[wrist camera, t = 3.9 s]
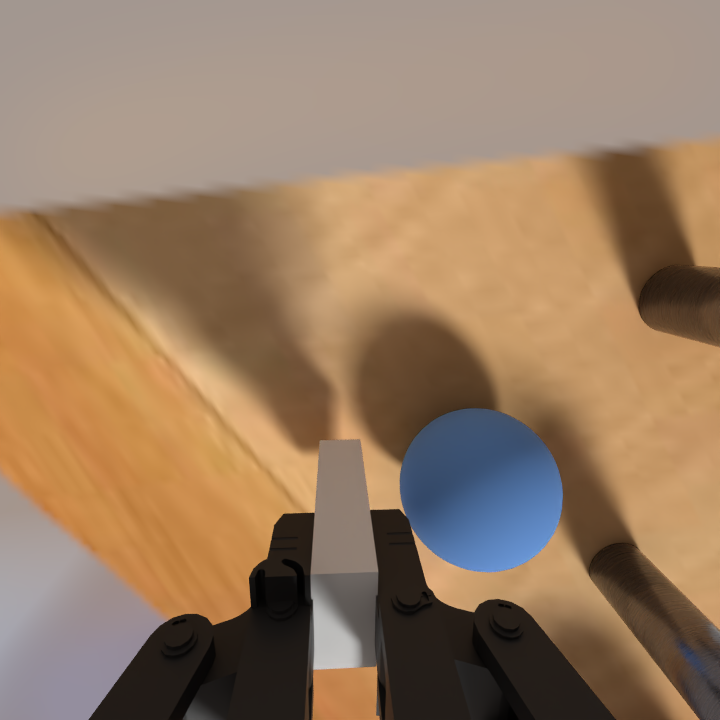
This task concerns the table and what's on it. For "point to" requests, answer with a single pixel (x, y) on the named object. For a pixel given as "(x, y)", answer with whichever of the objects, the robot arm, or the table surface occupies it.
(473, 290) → the table surface
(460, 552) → the ball
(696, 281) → the post
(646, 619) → the post
